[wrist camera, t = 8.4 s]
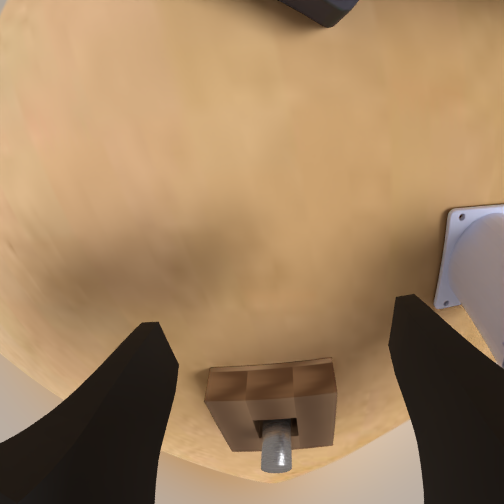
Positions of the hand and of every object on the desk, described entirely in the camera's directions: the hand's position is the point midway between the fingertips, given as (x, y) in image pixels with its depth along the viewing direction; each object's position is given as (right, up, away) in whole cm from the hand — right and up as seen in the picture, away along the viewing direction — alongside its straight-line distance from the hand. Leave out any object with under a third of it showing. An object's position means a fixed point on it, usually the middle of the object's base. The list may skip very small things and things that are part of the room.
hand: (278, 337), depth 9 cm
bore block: (+2, -11, +18) cm, 21 cm away
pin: (+1, -11, +17) cm, 20 cm away
